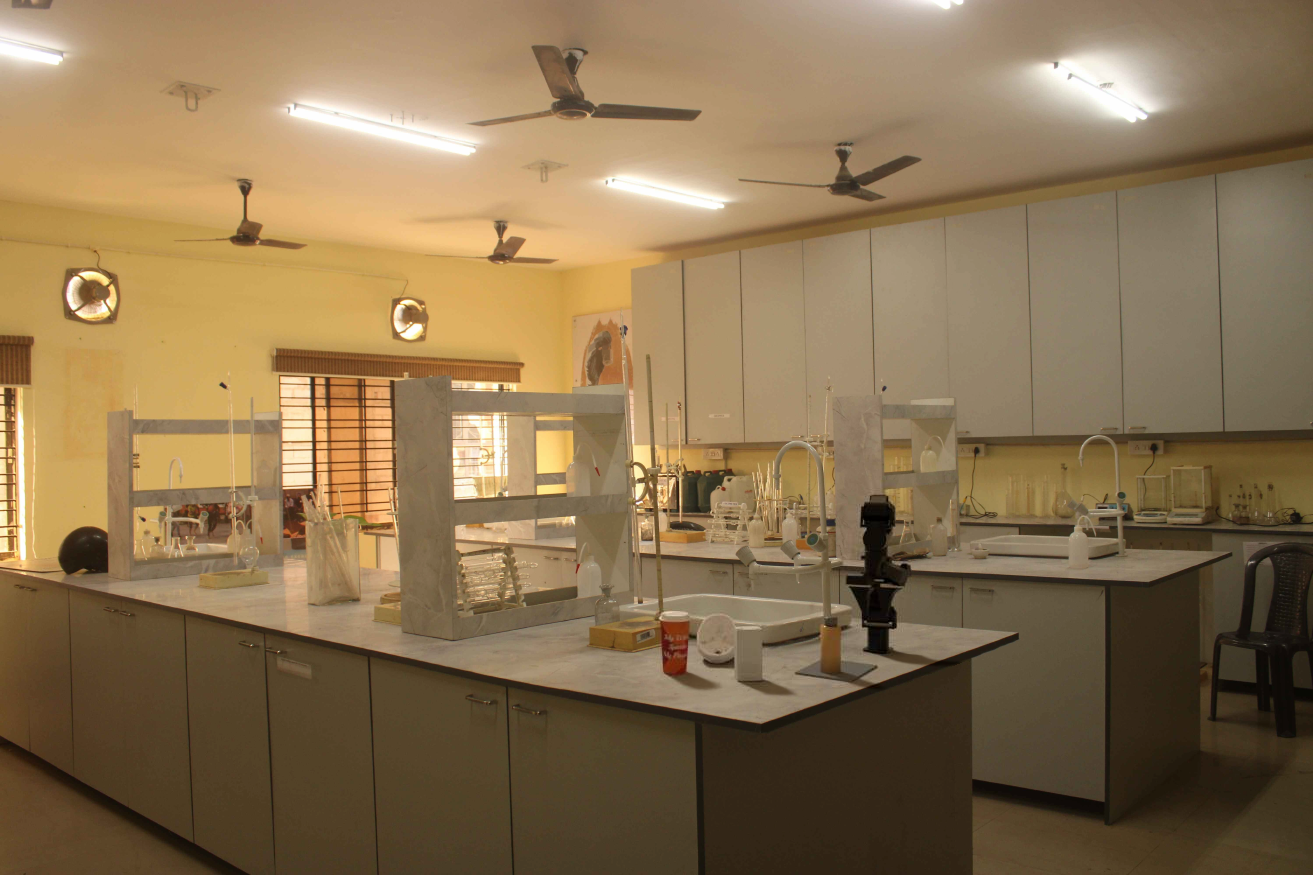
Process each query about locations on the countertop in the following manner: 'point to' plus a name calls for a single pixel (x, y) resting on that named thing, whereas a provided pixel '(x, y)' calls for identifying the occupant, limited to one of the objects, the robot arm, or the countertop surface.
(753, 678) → the skincare box
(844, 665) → the rubber mat
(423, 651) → the countertop surface
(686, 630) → the paper cup
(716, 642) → the skull bowl
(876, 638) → the robot arm
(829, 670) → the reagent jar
